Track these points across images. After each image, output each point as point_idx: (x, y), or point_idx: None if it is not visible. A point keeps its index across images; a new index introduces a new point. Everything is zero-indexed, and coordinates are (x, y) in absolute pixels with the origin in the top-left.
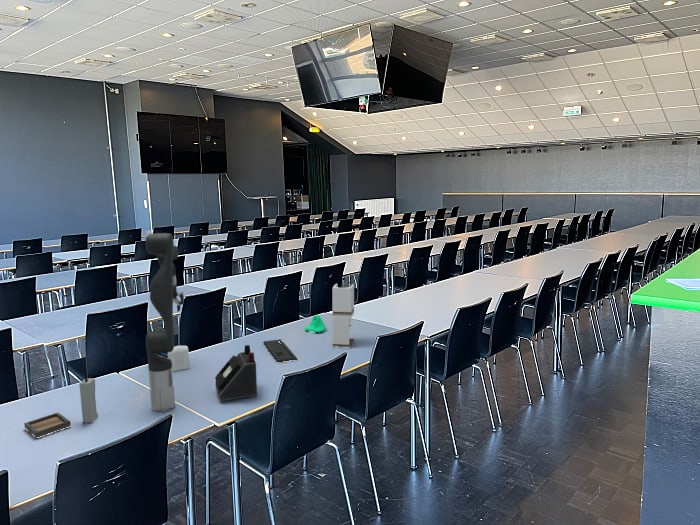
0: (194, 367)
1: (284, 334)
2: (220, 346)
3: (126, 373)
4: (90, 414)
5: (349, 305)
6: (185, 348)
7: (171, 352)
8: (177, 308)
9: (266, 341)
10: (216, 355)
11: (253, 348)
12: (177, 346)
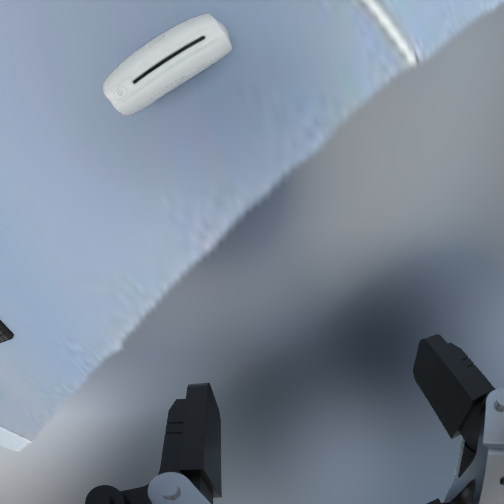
0: None
1: (14, 378)
2: (113, 320)
3: (393, 49)
4: None
5: None
6: (113, 73)
7: (197, 16)
8: (199, 425)
9: (1, 336)
10: (80, 239)
11: (9, 301)
12: (165, 62)
